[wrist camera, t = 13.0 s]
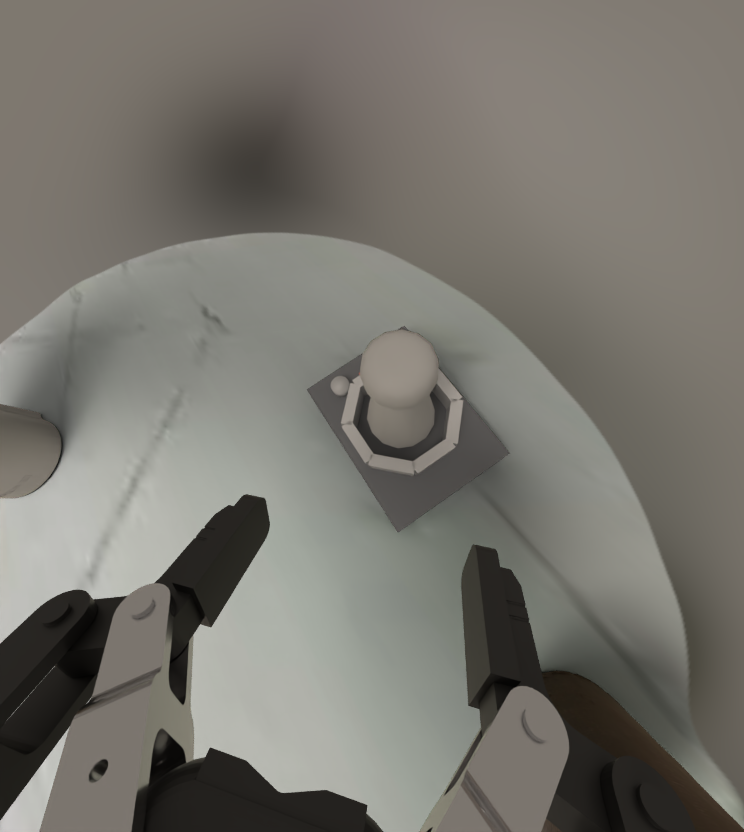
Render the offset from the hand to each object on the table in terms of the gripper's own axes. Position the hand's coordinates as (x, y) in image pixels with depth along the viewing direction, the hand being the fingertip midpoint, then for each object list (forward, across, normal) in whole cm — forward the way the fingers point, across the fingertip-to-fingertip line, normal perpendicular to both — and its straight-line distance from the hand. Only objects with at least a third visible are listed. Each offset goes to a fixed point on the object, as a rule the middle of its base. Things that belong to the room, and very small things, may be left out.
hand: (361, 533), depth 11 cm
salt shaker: (+16, 0, +5) cm, 17 cm away
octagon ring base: (+18, 0, +6) cm, 20 cm away
